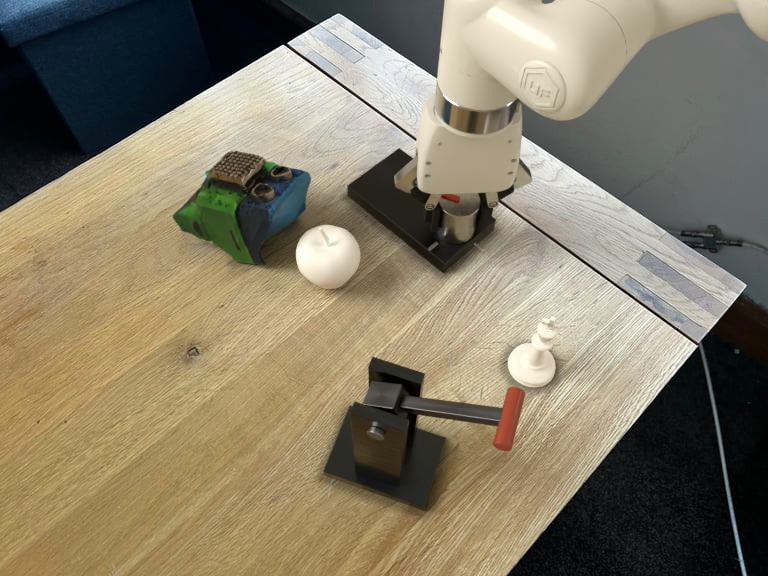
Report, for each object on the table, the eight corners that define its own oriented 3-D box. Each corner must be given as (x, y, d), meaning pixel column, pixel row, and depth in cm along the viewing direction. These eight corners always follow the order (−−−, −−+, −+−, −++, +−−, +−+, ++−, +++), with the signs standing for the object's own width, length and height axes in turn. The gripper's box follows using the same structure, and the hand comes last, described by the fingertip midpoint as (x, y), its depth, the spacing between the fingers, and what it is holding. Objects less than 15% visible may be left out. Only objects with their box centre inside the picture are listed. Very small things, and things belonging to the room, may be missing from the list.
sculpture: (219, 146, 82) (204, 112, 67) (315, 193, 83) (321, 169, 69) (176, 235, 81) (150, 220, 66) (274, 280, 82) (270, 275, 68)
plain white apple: (327, 239, 78) (322, 194, 71) (373, 271, 75) (373, 228, 69) (285, 277, 75) (276, 234, 68) (332, 312, 72) (328, 271, 66)
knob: (480, 220, 77) (486, 190, 72) (467, 249, 75) (472, 220, 70) (443, 207, 78) (447, 177, 73) (429, 236, 76) (432, 206, 71)
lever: (529, 399, 49) (521, 383, 47) (515, 456, 46) (506, 441, 45) (387, 382, 55) (376, 367, 53) (369, 432, 52) (356, 417, 51)
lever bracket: (445, 441, 65) (463, 373, 51) (424, 511, 61) (437, 456, 48) (350, 409, 66) (343, 335, 53) (323, 475, 63) (310, 412, 50)
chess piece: (549, 393, 68) (574, 349, 59) (502, 379, 68) (520, 333, 60) (558, 352, 70) (584, 304, 62) (513, 339, 71) (532, 289, 62)
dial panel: (506, 239, 78) (509, 227, 76) (455, 283, 75) (457, 273, 73) (398, 158, 85) (399, 146, 83) (347, 196, 81) (346, 184, 80)
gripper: (560, 67, 62) (523, 194, 78) (381, 72, 62) (380, 199, 77) (577, 124, 58) (535, 245, 74) (385, 130, 58) (383, 251, 73)
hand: (456, 221), depth 75 cm, fingers closed on knob, 4 cm apart
